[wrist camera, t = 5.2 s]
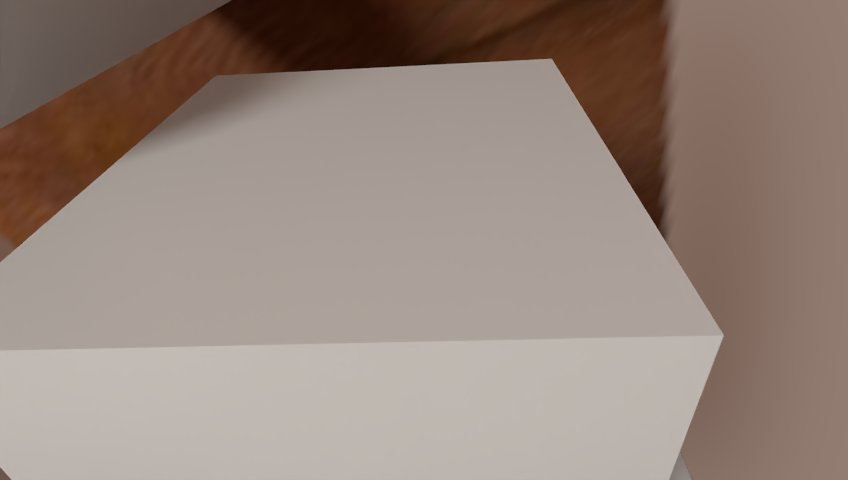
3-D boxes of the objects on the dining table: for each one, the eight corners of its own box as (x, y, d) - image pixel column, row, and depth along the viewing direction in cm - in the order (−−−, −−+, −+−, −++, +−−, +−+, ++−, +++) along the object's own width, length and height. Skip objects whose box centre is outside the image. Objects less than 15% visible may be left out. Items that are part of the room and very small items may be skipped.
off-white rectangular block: (215, 75, 11) (-103, 352, 5) (551, 59, 11) (723, 335, 4) (310, 407, 17) (232, 722, 11) (523, 404, 17) (574, 728, 10)
